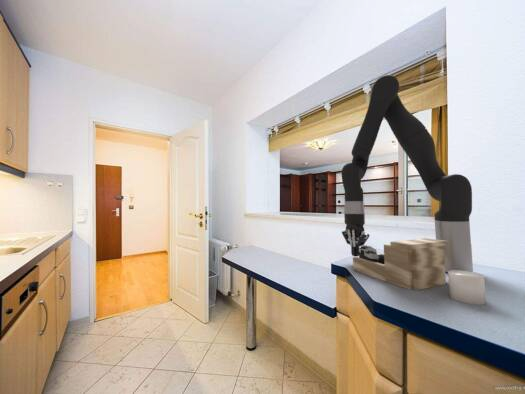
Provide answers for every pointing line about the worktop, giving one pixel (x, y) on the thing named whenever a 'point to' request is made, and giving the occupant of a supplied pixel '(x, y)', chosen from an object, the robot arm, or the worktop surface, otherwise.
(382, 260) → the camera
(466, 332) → the worktop surface
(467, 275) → the cream rounded block
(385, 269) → the wooden stepped block
